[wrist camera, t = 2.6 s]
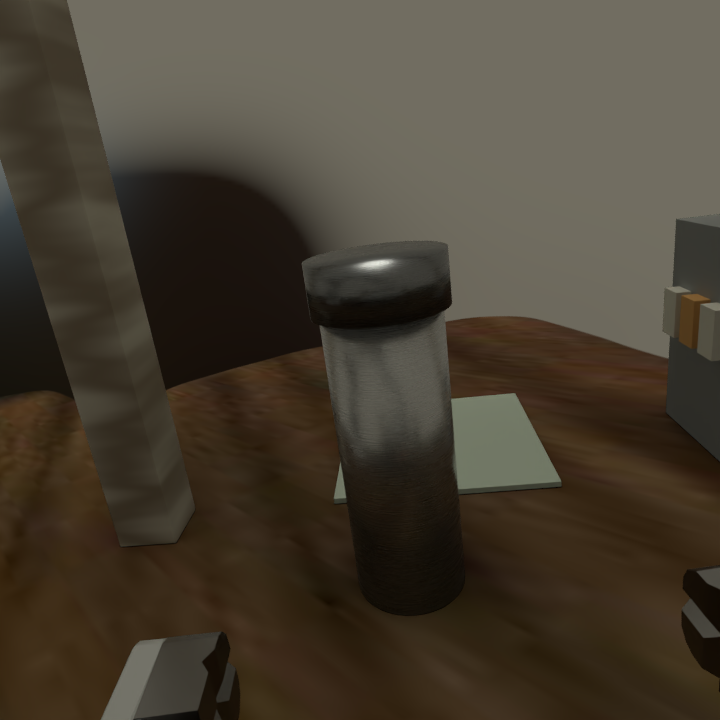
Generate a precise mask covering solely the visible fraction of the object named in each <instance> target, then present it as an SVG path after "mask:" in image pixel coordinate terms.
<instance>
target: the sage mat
mask: <svg viewBox="0 0 720 720" xmlns="http://www.w3.org/2000/svg"><path fill="white" fill-rule="evenodd" d="M451 403H452V416H453V428H454V441H455V454H456V466H457V479H458V492H459V494H469V493H483V492H496V491H509V490H522V489H536V488H549V487H561V480H560V478H559V476H558V474H557V472H556V470H555V468H554V467H553V465H552V463H551V461H550V459H549V457H548V455H547V453H546V451H545V449H544V448H543V446H542V444H541V442H540V440H539V438H538V436H537V434H536V432H535V430H534V429H533V427H532V425H531V423H530V421H529V419H528V417H527V415H526V413H525V411H524V410H523V408H522V406H521V404H520V402H519V400H518V398H517V396H516V394H515V393H513V394H502V395H491V396H480V397H469V398H458V399H451ZM334 503H335V504H337V503H347V500H346V494H345V487H344V481H343V474H342V467H341V462H340V468H339V473H338V479H337V484H336V490H335V495H334Z"/></svg>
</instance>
